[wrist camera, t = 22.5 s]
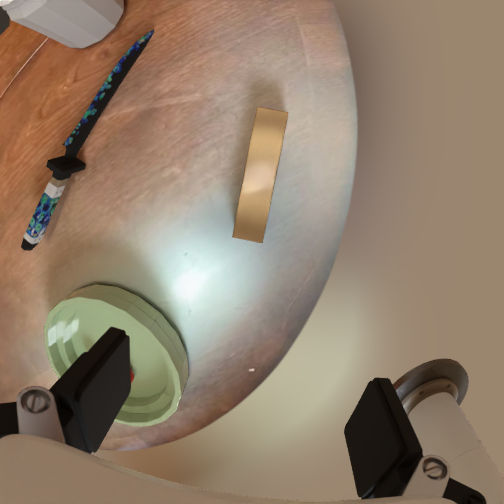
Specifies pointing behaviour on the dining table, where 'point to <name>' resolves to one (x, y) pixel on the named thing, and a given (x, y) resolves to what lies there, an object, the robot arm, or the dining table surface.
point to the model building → (3, 19)
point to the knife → (77, 146)
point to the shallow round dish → (141, 347)
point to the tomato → (132, 376)
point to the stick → (260, 174)
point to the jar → (67, 18)
